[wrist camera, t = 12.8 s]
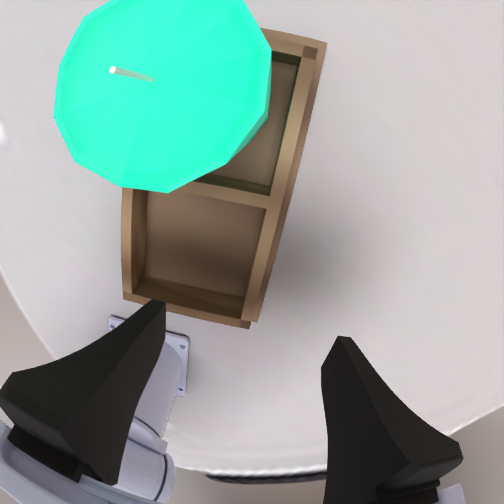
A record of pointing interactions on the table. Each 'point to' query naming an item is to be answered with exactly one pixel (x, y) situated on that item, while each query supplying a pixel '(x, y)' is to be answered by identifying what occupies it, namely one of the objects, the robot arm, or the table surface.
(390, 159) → the table surface
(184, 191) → the divided wooden tray
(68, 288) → the table surface
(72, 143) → the candle
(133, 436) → the robot arm
